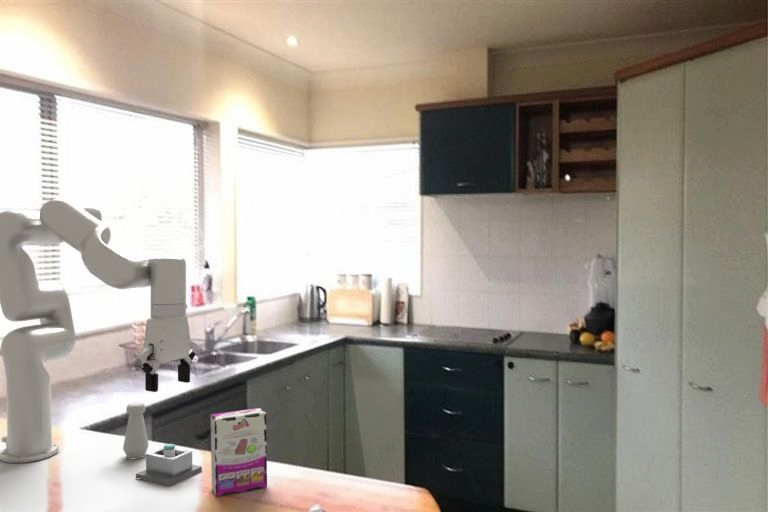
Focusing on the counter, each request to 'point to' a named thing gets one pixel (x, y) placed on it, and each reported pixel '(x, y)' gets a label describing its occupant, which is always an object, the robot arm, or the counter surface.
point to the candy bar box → (238, 451)
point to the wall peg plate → (165, 480)
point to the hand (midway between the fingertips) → (168, 386)
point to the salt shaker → (135, 432)
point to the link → (168, 462)
